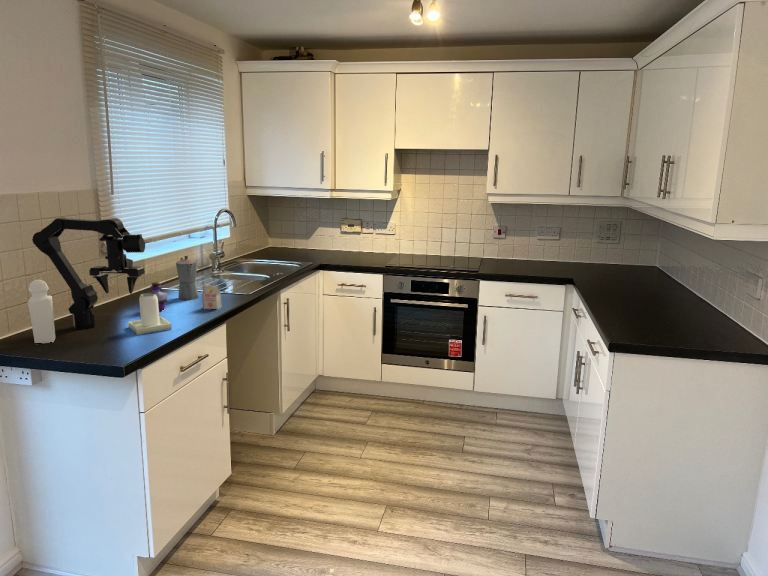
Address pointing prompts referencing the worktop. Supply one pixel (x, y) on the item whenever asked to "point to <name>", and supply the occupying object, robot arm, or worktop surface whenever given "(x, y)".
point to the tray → (139, 329)
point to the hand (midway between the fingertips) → (119, 293)
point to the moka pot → (187, 279)
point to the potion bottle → (159, 295)
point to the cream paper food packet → (211, 297)
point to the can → (149, 309)
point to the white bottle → (41, 312)
